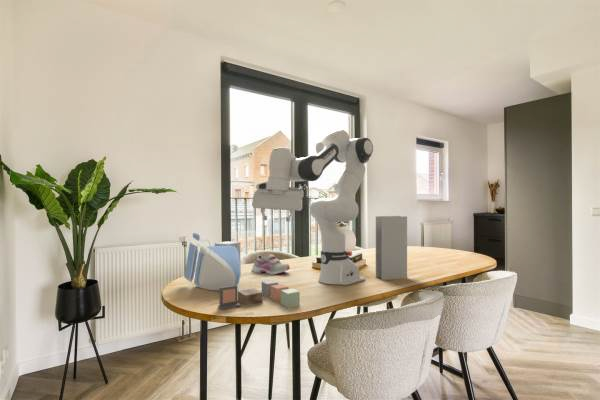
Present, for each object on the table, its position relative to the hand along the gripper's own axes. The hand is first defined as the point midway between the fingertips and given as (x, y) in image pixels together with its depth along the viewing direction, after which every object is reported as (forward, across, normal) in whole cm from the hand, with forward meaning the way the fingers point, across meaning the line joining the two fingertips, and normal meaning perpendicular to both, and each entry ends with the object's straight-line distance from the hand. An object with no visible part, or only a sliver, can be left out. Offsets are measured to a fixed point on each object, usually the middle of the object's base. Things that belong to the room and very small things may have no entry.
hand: (276, 220), depth 136 cm
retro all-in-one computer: (+31, +26, -12) cm, 42 cm away
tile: (+32, +12, +15) cm, 37 cm away
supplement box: (+29, +28, -33) cm, 52 cm away
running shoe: (+27, +9, -43) cm, 52 cm away
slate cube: (+30, +1, -3) cm, 30 cm away
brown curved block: (+31, +7, +8) cm, 33 cm away
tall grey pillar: (+24, -52, -36) cm, 68 cm away
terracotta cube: (+30, -4, +3) cm, 30 cm away
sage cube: (+30, -9, +9) cm, 33 cm away
